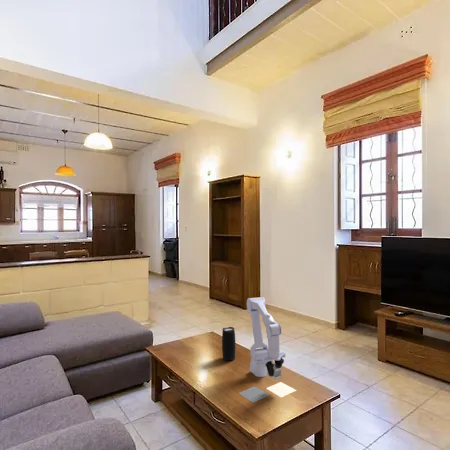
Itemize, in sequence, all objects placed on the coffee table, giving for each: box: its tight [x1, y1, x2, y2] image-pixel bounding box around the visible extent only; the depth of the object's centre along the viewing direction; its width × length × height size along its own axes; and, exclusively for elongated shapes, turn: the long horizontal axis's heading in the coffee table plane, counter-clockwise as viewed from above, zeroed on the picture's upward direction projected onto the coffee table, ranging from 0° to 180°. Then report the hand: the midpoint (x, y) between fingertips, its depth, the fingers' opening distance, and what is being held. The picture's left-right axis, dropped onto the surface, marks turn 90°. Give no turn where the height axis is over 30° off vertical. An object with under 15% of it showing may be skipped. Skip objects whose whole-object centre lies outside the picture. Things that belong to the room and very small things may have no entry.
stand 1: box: [238, 386, 270, 403], centre depth 157 cm, size 11×11×2 cm
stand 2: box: [265, 381, 297, 398], centre depth 162 cm, size 11×11×2 cm
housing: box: [266, 362, 283, 380], centre depth 161 cm, size 6×4×5 cm
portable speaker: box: [221, 326, 237, 362], centre depth 203 cm, size 9×9×20 cm
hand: (274, 374), depth 161 cm, fingers closed on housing, 4 cm apart
